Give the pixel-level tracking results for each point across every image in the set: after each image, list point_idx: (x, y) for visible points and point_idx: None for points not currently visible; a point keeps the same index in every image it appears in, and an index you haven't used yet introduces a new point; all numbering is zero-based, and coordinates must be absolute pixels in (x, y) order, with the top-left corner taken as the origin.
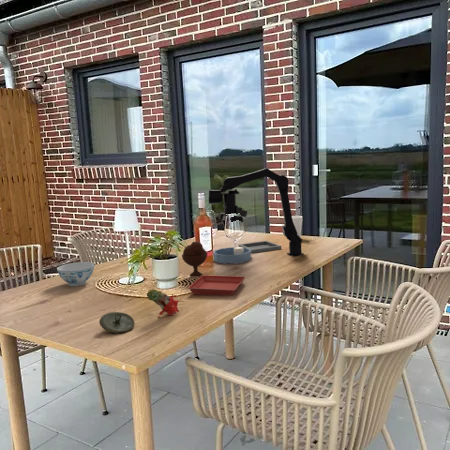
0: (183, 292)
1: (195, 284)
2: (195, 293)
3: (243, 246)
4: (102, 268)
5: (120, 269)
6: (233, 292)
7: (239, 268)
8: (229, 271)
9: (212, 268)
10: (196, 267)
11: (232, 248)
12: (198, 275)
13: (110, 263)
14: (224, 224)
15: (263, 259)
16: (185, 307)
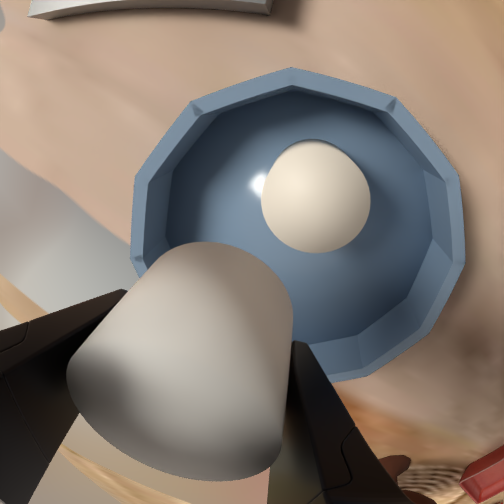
0: (455, 495)
1: (473, 492)
2: (486, 486)
3: (95, 2)
4: (116, 488)
5: (147, 490)
6: None
7: (491, 338)
8: (474, 388)
9: (374, 411)
10: None
11: (164, 162)
12: (407, 468)
13: (75, 461)
14: (47, 460)
15: (484, 92)
16: (498, 494)
